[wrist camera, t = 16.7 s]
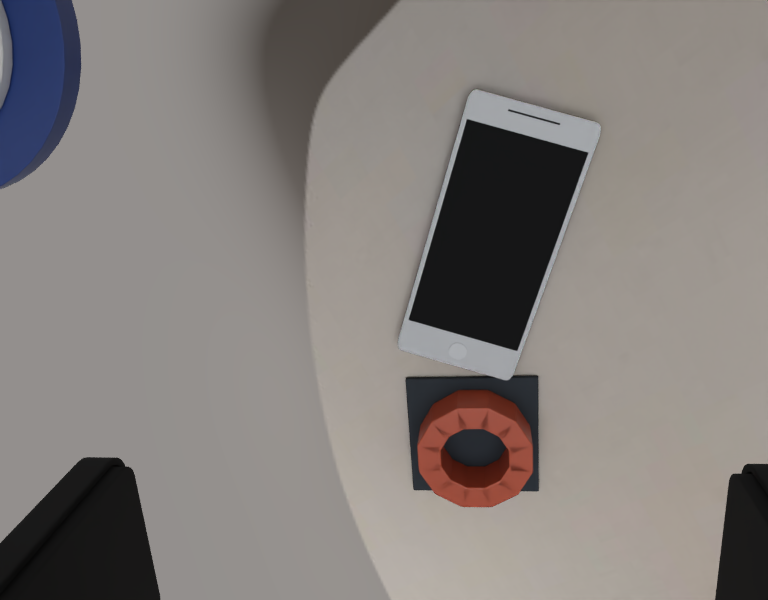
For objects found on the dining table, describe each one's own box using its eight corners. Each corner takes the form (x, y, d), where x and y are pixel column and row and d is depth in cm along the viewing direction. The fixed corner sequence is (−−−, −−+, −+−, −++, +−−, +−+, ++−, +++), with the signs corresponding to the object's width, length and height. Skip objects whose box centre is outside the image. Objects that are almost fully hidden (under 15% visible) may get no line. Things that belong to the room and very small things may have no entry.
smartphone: (396, 343, 42) (395, 349, 41) (470, 87, 37) (470, 87, 36) (510, 376, 42) (510, 383, 41) (601, 123, 37) (604, 124, 36)
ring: (423, 484, 45) (421, 506, 43) (417, 390, 43) (414, 408, 41) (530, 485, 44) (533, 508, 42) (529, 388, 42) (532, 407, 40)
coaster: (414, 487, 46) (413, 490, 45) (406, 377, 43) (405, 379, 43) (538, 488, 45) (538, 491, 44) (537, 375, 42) (538, 377, 42)
